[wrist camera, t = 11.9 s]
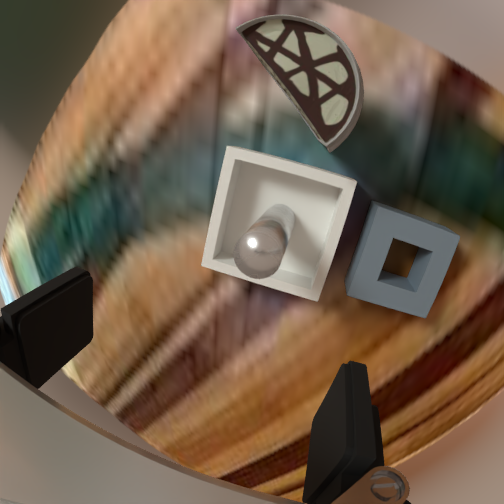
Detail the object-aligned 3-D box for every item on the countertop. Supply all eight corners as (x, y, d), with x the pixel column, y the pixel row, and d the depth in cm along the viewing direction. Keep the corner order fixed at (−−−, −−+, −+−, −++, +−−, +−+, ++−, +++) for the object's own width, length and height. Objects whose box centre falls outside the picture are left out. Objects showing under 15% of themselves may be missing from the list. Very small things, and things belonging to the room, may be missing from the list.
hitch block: (446, 227, 30) (460, 236, 26) (416, 301, 33) (425, 318, 29) (371, 199, 31) (378, 206, 27) (344, 280, 34) (346, 295, 30)
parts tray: (352, 178, 31) (357, 181, 27) (318, 285, 35) (317, 301, 31) (237, 146, 32) (227, 145, 28) (213, 253, 36) (201, 265, 32)
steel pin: (299, 209, 32) (287, 240, 21) (290, 239, 33) (274, 284, 22) (268, 199, 32) (239, 226, 21) (260, 230, 33) (228, 270, 22)
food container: (377, 122, 29) (401, 109, 19) (326, 153, 31) (330, 152, 21) (305, 27, 27) (298, -17, 18) (256, 58, 29) (231, 23, 20)
